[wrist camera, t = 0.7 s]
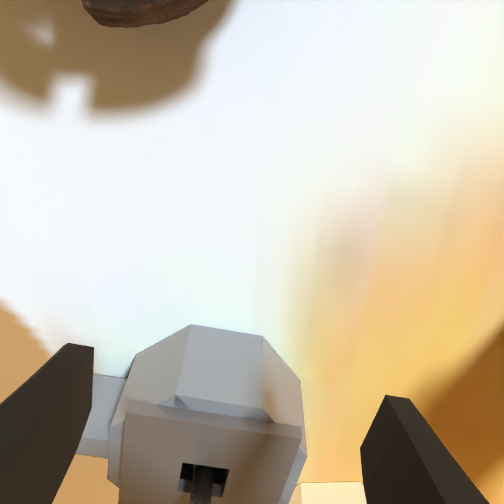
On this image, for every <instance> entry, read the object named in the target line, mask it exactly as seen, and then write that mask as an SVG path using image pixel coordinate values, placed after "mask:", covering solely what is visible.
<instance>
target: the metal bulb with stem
mask: <svg viewBox="0 0 504 504" xmlns="http://www.w3.org/2000/svg"><path fill="white" fill-rule="evenodd" d="M214 471H215V470H214V468H213V467H210V466H203V465H196V466H195V467H194V472H193V479H192V486H191V493H190V499H189V504H211V499H212V490H213V480H214Z"/></svg>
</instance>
